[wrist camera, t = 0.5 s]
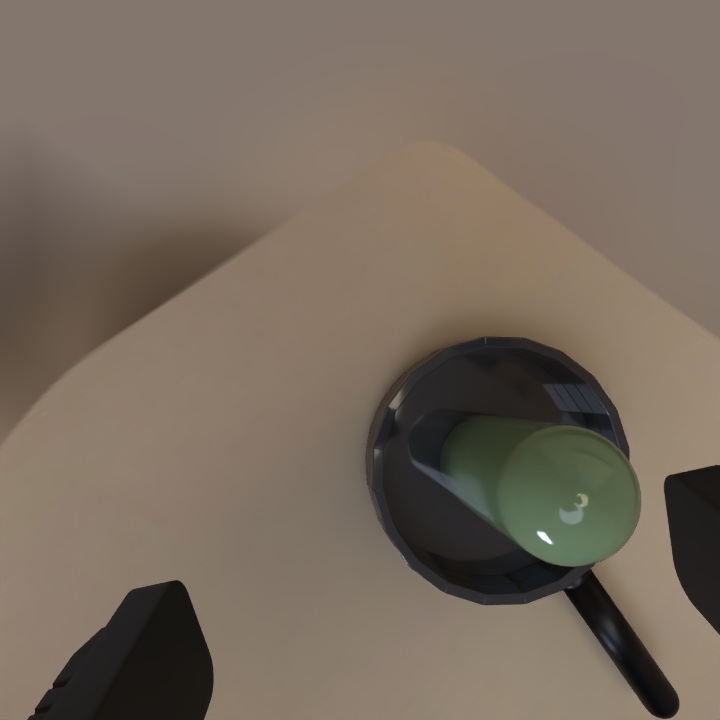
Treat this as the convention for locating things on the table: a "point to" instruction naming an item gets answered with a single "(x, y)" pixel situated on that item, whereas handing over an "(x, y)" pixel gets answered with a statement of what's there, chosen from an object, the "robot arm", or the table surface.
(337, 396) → the table surface
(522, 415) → the steel pan
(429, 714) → the table surface
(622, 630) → the pan handle
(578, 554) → the green capsule
